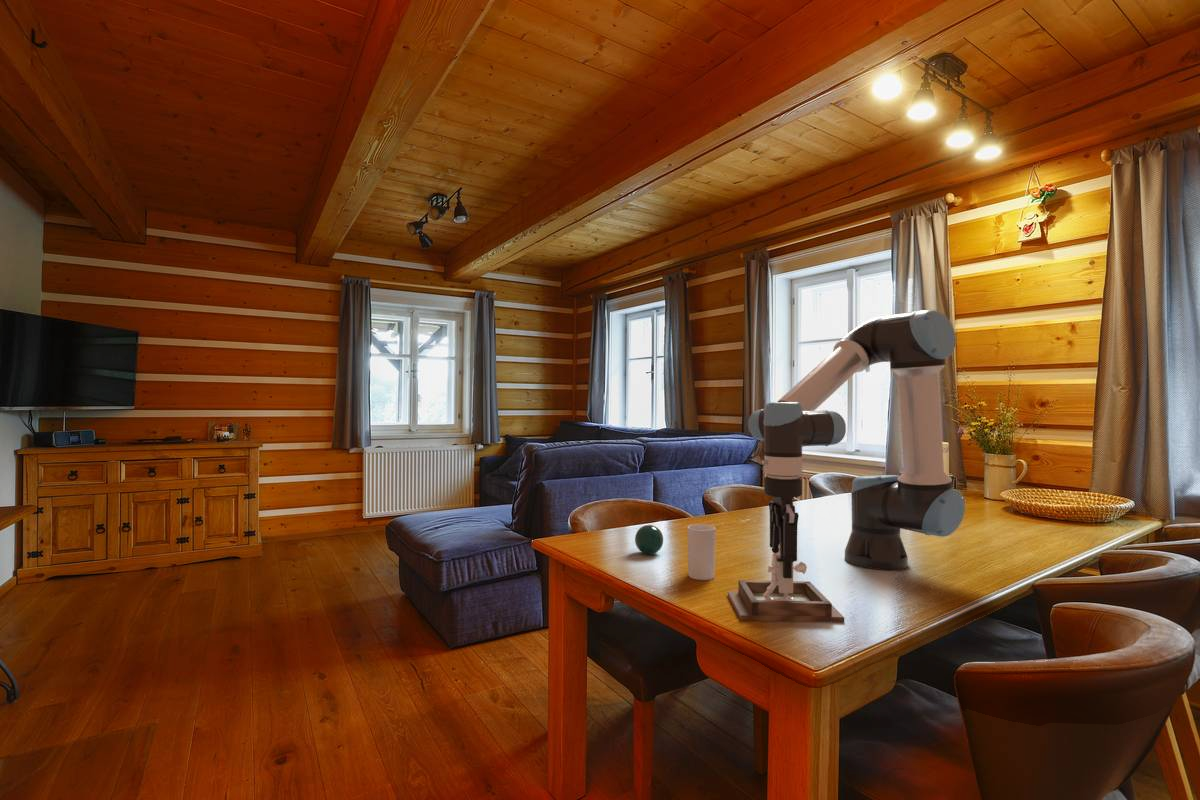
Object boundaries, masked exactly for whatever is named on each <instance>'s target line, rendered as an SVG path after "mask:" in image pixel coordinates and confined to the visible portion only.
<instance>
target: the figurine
mask: <svg viewBox="0 0 1200 800" xmlns="http://www.w3.org/2000/svg"><path fill="white" fill-rule="evenodd" d="M778 548H779V552H778V553H775V555H773V554H772V557H771V566H767V568H768V569H767V573H771V580H770V581H771V584H770V586H768V587H767V591H766V592H765V593H764V594H763V597H764V598H765V599H764V600H775V601H795V600H794V599H793V598H791V597H790V596H788V593H784V595H783V598H779V599H775V598H770V597H769V594H770V593H772V592H773V590H774V589H775V588H776V586H777V583H778V580H779V562H777V558H778V559H780V544H779V546H778ZM798 562H799V563H797V564H795V565H793V570H794V571H795V572H796V573H801V574H803V575H805V573H807V572H806V571H807V568H808V567H807V564H806V563H805V562H803V561H798Z"/></svg>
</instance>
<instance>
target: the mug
mask: <svg viewBox="0 0 1200 800" xmlns="http://www.w3.org/2000/svg"><path fill="white" fill-rule="evenodd" d="M715 561H716V527H715V526H713V525H710V524H701V523H700V524H690V525H688V526H687V568H688V569H687V572H688V577H689V578H691V579H694V580H696V581H710V580H712V579H714V578H715V566H716V565H715V564H716V562H715Z"/></svg>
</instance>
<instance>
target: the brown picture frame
mask: <svg viewBox="0 0 1200 800" xmlns="http://www.w3.org/2000/svg"><path fill="white" fill-rule="evenodd" d="M770 584H771V580H741V579H740V580H739V579H738V590H727V597H728V599H729V601H730V603H731V605H732V607H733V608H734V609H733V610H735V613H736V614H737V616H738V618H739V620H740V621H745V622H748V621H749V622H750V621H753V622H754V621H757V622H759V621H760V622H762V621H763V622H797V623H798V622H802V623H803V622H804V623H805V622H809V623H810V622H811V623H845V616H843V614H842V613H841V612H840V611H839V610H838V609H837V608H836V607H835V606H834V605H833V604H832V602H831V601H830V600H828V598H827V596H825V595H824V594H823V593H822V592H821V591H820V590H819V589H818V588H817V587H816V586H815V585H814V584H813V583H812V582H811V581H803V580H802V581H801V580H800V581H796V580H795V581H794V580H793V593H788V596H790V597H791V598H793V599H794V600H795V601H775V600H764V599H765V598H764V597H763V594H764V593H765V592H766V591H767V587H768V586H770ZM783 595H784V593H779V585H777V586H776V588H775V589H774V590H773V592H772V593H770V594H769V597H770V598H775V599H779V598H783Z"/></svg>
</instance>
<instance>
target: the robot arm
mask: <svg viewBox="0 0 1200 800" xmlns="http://www.w3.org/2000/svg"><path fill="white" fill-rule="evenodd" d="M956 344H957V338H956V332H955V328H954V326H953V324H952V322H951V321H950V319H949V318H948V317H947V315H945V314H944V313H942V312H941V311H939V310H935V309H930V310H929V309H926V310H919V309H918V310H915V311H910V312H909V311H908V312H903V313H897V314H889V315H882V316H876V317H874V318H871V319H869V320H867V321H865V322H863V323H862V324H860V325H858V326H857V327H855V328H853V330H851V331H850V332H849V333H848V332H847V334H846V335H844V336H842V338H841V339H840V340H838V342H836V343H835V345H834V347H833V351H832V352H831V353H830V354H829V355H828V356H827V357H826V358H824V359H823V360H822V361H821V362H820V363H819V364H818V365H817V366H816V367H814V368H813V369H812V370H811V371H809V373H808V374H806V375H805V377H803V378H802V379H800V380H799V381H798V382H797V383H796V384H795V385H794V386H793V387H792V388H791V389H789V390H788V391H787V392H786V393H785V394H784V395H783V396H781V398H780V399H778V400H777V401H776V402H775V401H773V402H771V401H770V402H767V403H766V405H765V406H764V408H762V409H757V410H755V411H754V412H752V413H751V414H750V416H749V419H748V422H747V423H748V424H747V425H748V431H749V433H750V434H751V436H752V437H753V438H754V439H756V440H759V441H763V449H764V451H763V455H764V456H763V457H764V459H763V460H761V465H764V466H763V468H764V469H763V473H764V474H765V475H766V476H764V478H763V493H764V494H765V495H766V496H769V497H772V501H768V510H769V547H770V548H771V551H772V556H773V555H775V553H778V552H779V548H778V546H779V544H780V559H778V558H777V562H779V580H778V583H777V585H779V593H793V581H794V569H793V567H794V562H798V522H799V513H798V512H796V507H795V505H794V501H793V499H794V498H799V497H801V496H802V495H803V479H802V478H801V476H802V475H803V447H818V446H820V447H821V446H823V447H828V446H832V445H836V444H839V443H840V442H841V441H843V440H844V438H845V435H846V432H847V426H846V421H845V419H844V418H843V416H842V415H841V414H840V413H838V412H837V411H833V410H817V409H818V408H819V407H820V406H821V405H823V403H825V402H826V400H828V399H829V398H830V396H832V395H833V394H834V393H835V392H837V391H838V390H839V388H841V387H842V386H843V385H844V384H845V383H846V382H847V381H848V380H850V378H851V377H852V376H853V375H855V374H856V373H861V372H863V371H865V370H866V369H867V368H868V367H869V366H872V365H874V364H875V365H876V364H879V363H885V362H886V363H889V365H890V368H889V369H890V371H891V372H893V373H894V374H895V375H896V376H897V382H898V383H897V384H898V398H899V400H898V401H899V402H898V403H899V413H900V415H899V416H900V432H901V445H902V446H901V447H902V449H901V450H902V464H903V472H902V473H901V474H900V475H896V474H888V475H887V474H883V475H881V474H879V475H862V476H856V477H854V479H853V480H852V483H851V484H852V486H851V492H850V493H851V531H850V535H849V537H848V541H847V544H846V546H845V548H844V560H845V561H846V562H848V563H850V564H852V565H855V566H859V567H862V568H868V569H872V570H873V569H874V570H885V571H887V570H888V571H891V570H892V571H896V570H903V569H906V568H907V567H909V559H908V558H909V557H908V555H907V551H906V547H905V545H904V543H903V539H902V537H901V529H902V530H905V531H910V532H911V531H912V532H915V533H920V534H924V535H926V536H936V537H940V538H942V537H948V536H950V535H952V534H954V533H955V532H956V531H957V530H958V528H959V527H960V525H961V524H962V522H963V519H964V515H965V511H966V501H965V497H964V496H963V493H962V492H961V491H959V490H958V489H956V488H953V479H952V477H950V476H949V475H948V474H947V473H946V472H945V463H944V448H943V433H942V432H943V429H942V415H941V396H940V393H941V392H940V381H939V380H940V378H939V373H940V372H941V371H942V370H943V369H944V368H945V367H946V359H948V358H949V357H951V356H952V354H953V353H954V352H955V350H954V349H955V348H956Z"/></svg>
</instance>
